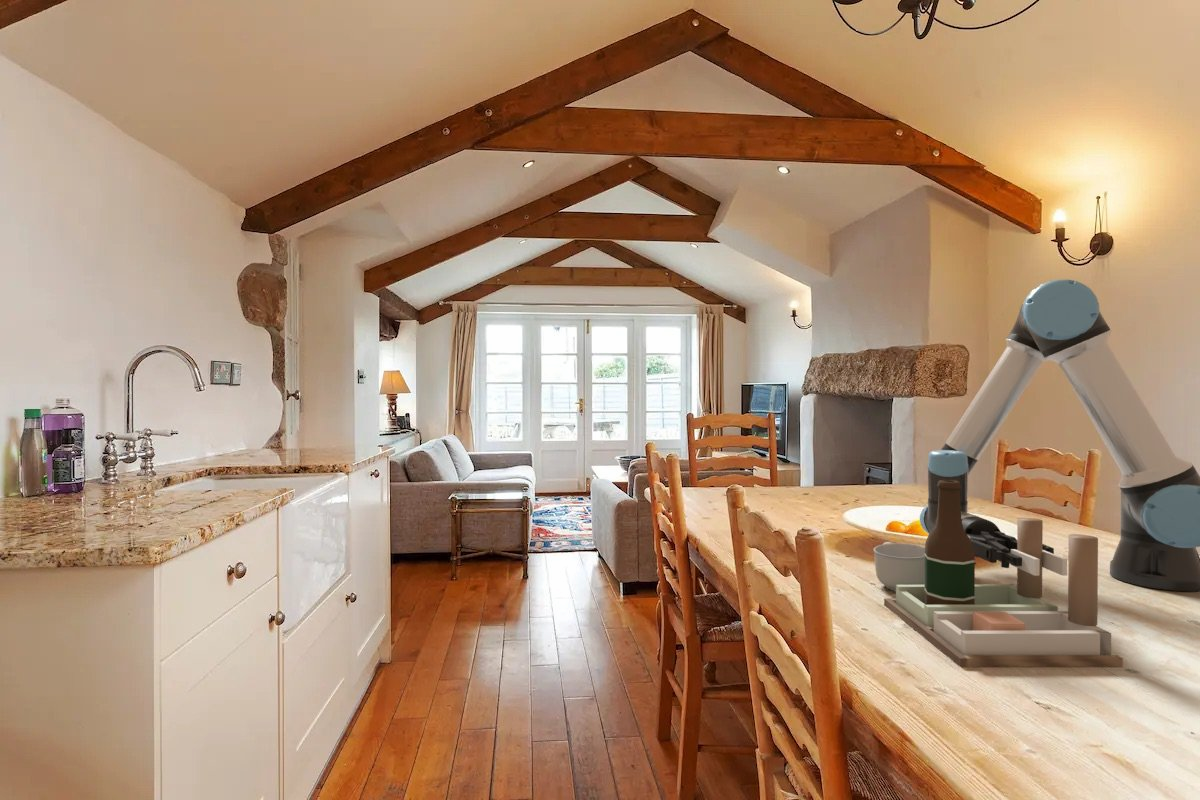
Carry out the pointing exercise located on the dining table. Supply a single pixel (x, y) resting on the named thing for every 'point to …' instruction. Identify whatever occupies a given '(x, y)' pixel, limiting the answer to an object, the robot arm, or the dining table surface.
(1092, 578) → the tray
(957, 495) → the beer bottle
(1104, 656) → the lane rails
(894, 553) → the teacup
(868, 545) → the dining table surface
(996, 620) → the terracotta cube
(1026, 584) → the bottle sled
